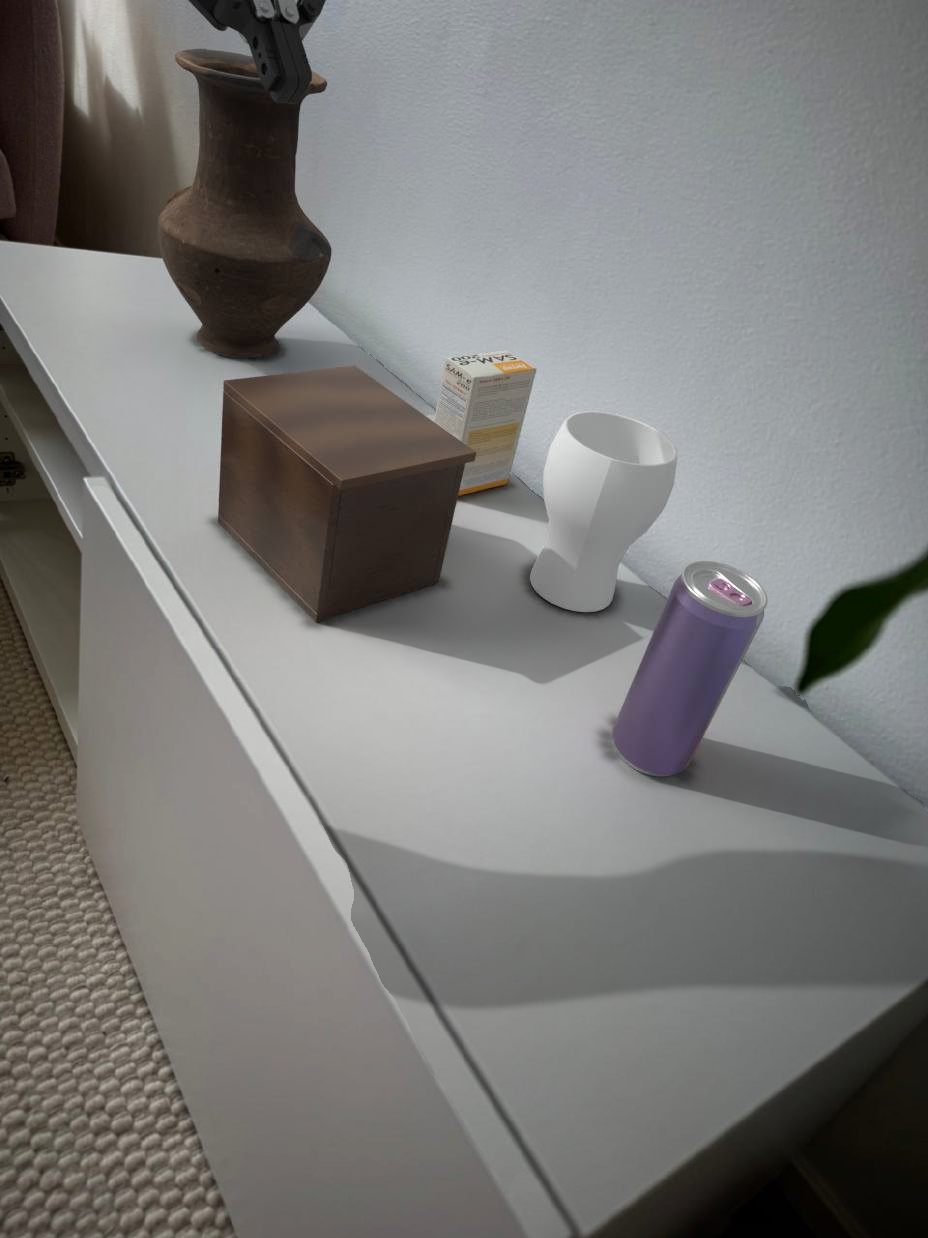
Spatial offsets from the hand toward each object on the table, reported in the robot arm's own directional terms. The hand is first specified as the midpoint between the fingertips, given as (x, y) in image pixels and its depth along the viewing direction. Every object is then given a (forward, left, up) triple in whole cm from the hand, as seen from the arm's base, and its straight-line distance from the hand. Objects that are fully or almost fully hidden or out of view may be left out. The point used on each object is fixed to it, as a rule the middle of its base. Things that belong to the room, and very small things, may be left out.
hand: (291, 94), depth 53 cm
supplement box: (+19, +20, -35) cm, 44 cm away
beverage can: (+31, -17, -35) cm, 49 cm away
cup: (+28, +3, -35) cm, 44 cm away
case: (+6, +3, -34) cm, 35 cm away
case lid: (+6, +3, -22) cm, 23 cm away
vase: (-8, +46, -35) cm, 59 cm away
